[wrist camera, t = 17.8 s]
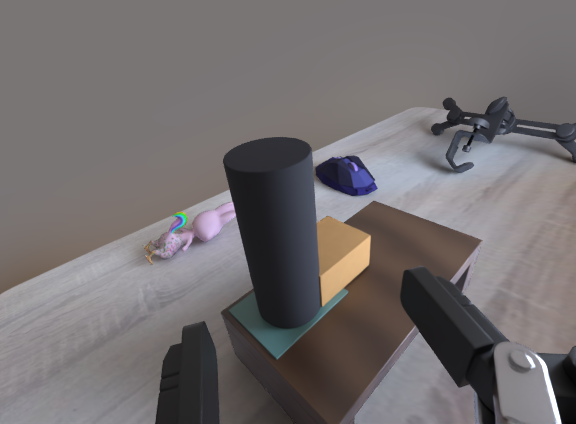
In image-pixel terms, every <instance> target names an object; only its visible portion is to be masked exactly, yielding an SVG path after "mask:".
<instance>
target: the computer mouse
mask: <svg viewBox="0 0 576 424" xmlns="http://www.w3.org/2000/svg"><path fill="white" fill-rule="evenodd" d="M316 175H317V177H318V178H319V179H320V180H321V182H322V183H324V184H326V185H328V186H329V187H331V188H333V189H335V190H338V191H341V192H343V193H346V194H349V195H351V196H356V195H364V194H369V193H370V192H372V191H374V190H376V189H377V186H376V184H375V183H374V180H375V179H374V178H373V176H372V175H371V174H370V172H369V171H368V169H367V168H366V167H365V165H364V164H363V163H362V161H361V160H360V159H359V157H357V156H346V157H344V158H342V157H332V158H330V159H329V160H327V161H325V162H323V163H322V164H320V165H319V166H317V167H316Z"/></svg>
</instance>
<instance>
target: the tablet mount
mask: <svg viewBox="0 0 576 424" xmlns="http://www.w3.org/2000/svg"><path fill="white" fill-rule="evenodd" d="M506 100H507V97H501V98H499V99H497V100H495V101H493V102H492V103H491V104H490V105H489V106H488V108H487V110H486V112H485V114H477V113H468V112H463V111H462V110H461V109H460V108H459V107H458V106H456V102H455V101H454V100H453V99H452V98H446V99H445V100H444V101H443V106H444V108H445V109H446V110H450V111H449V113H448V115H447V120H448V121H446V122H444V123H441V124H439V123H436V124H434V125H433V126H432V127H431V131H432V132H433V134H434V135H440V134H441V133H442V132H443V131H444V129H447V128H450V127H453V126H456V125H459V124H464V125H470V126H474V127H473V129H474V131H473V132H468V131H463V130H459V131H457V132H456V134H455V136H454V138H453V140H452V142H451V144H450V147H449V149H448V151H447V153H446V159H447V160H448V162H449V164H450V165H451V167H452V168H453V169H455V170H456V171H457V172H459V173H462V172H464V171H467V170H469V169H471V168H472V167H473V166H474V164H473V163H472V162H467V163H464V164H462V165H459V166H456V165H455V163H454V162H453V157H454V155H455V153H456V151H457V149H458V144H459V142H460V140H461V138H462V137H464V136H465V137H468V138H470V139H469V141H468V143H467V145H464V146H463V149H462V151H464V152H469V151H470V149H471V147H470V144H471V142H472V140H475V141H480V142H485V143H491V142H492V141H493V139H494V137H495V135H500V134H502V135H504V134H508V133H511V132H513V133H519V134H525V135H531V136H537V137H543V138H549V139H555V140H556V141H557V142H558V143H559V144H561V145H562V146H563V147H564V148H565V149H567V150H568V151H569V152H570V153H571V154H572V155H573V156H572V160H573V161H574V162H575V163H576V142H574V140H575V139H576V123H574V124H569V123H565V124H562V125H558V124H550V123H543V122H535V121H528V120H520V119H516V118H515V115H514V113H513V111H512V110H511V109H508V108H509V104H508V102H507V101H506ZM465 117H472V118H470V119H464V118H465ZM518 124H520V125H527V126H534V127H540V128H547V129H554V130H556V133H555V132H548V131H542V130H535V129H528V128H522V127H517V125H518Z"/></svg>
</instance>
